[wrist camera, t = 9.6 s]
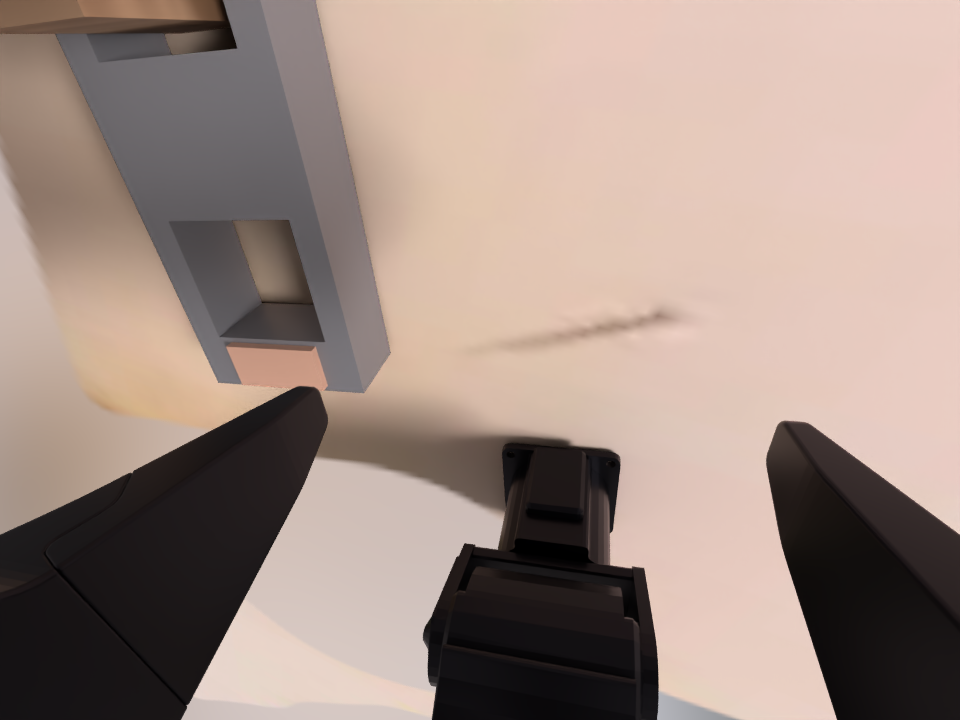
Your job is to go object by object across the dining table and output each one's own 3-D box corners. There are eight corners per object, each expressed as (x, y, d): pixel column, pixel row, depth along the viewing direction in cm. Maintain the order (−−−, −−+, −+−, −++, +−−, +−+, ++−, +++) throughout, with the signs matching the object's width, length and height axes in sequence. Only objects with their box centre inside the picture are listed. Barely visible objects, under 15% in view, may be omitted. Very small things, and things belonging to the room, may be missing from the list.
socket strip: (390, 353, 25) (360, 398, 22) (258, 346, 27) (213, 387, 24) (248, -313, 13) (138, -421, 10) (26, -250, 15) (-128, -324, 12)
